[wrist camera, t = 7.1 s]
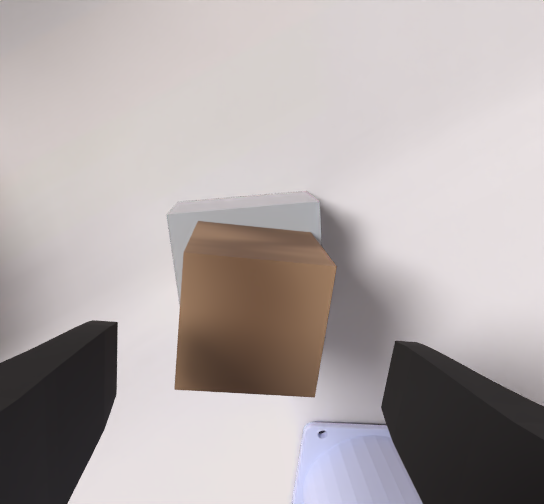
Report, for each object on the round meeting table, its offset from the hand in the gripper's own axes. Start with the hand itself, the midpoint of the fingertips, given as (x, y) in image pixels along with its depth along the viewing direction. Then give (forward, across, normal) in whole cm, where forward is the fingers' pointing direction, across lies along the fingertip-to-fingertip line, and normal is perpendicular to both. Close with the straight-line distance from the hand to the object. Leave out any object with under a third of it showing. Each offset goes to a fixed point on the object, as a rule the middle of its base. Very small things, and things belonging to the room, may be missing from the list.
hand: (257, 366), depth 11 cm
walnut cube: (+7, 0, 0) cm, 7 cm away
